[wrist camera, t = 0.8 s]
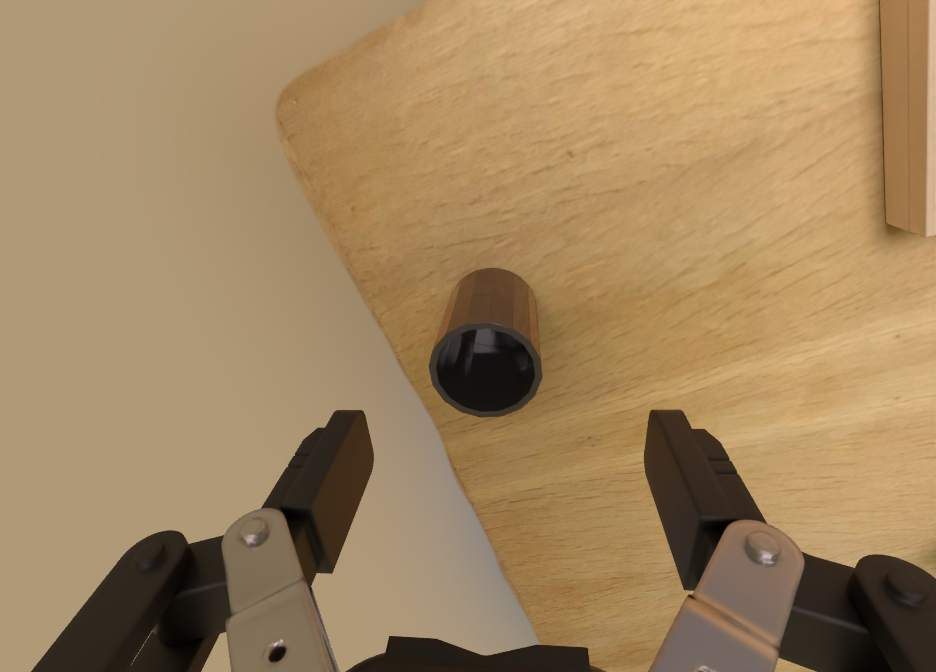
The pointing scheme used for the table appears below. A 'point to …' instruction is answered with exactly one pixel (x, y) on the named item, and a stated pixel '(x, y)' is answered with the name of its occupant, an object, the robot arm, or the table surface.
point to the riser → (909, 113)
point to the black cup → (488, 345)
